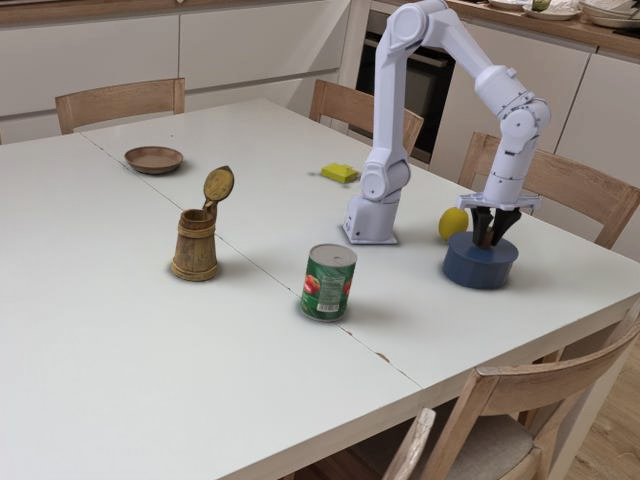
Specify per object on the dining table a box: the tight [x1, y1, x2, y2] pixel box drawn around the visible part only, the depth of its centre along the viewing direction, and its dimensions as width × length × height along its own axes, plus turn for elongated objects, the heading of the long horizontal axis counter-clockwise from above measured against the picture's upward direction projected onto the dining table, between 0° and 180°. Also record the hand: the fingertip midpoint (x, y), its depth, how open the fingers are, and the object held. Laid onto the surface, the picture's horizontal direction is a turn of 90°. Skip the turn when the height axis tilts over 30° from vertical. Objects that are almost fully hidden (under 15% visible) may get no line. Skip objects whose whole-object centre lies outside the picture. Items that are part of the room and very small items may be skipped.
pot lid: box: [446, 225, 520, 265], centre depth 125 cm, size 12×12×5 cm
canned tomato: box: [299, 243, 358, 323], centre depth 115 cm, size 8×8×11 cm
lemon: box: [437, 206, 470, 243], centre depth 137 cm, size 6×6×8 cm
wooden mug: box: [170, 164, 236, 282], centre depth 125 cm, size 9×14×18 cm, turn 141°
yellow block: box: [312, 162, 360, 188], centre depth 166 cm, size 10×9×3 cm
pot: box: [441, 246, 514, 291], centre depth 127 cm, size 11×11×6 cm
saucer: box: [123, 145, 184, 175], centre depth 169 cm, size 15×15×3 cm
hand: (483, 243), depth 125 cm, fingers closed on pot lid, 2 cm apart
